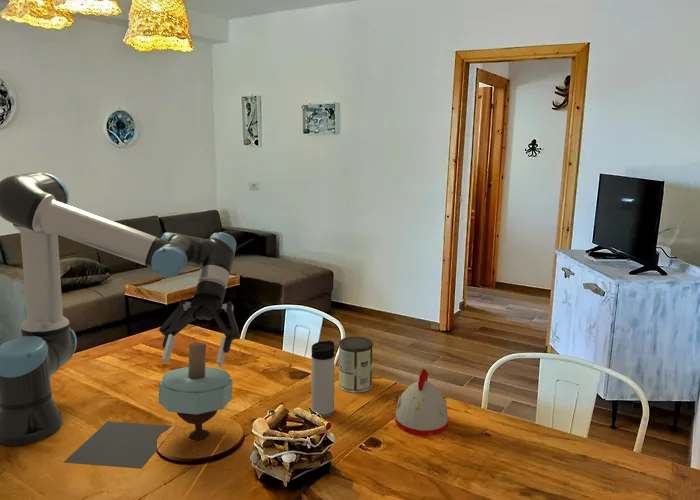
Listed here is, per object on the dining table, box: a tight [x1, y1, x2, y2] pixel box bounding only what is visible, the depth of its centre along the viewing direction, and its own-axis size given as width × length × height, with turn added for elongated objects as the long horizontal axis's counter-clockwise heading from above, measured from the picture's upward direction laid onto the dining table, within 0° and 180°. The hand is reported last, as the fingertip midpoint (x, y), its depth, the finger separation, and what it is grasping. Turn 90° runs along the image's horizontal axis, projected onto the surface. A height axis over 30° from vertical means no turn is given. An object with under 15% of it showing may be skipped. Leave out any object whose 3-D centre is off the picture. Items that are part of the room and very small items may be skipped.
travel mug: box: [310, 340, 335, 418], centre depth 152 cm, size 6×7×20 cm
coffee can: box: [338, 336, 374, 394], centre depth 169 cm, size 10×10×14 cm
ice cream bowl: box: [175, 410, 218, 442], centre depth 139 cm, size 11×11×15 cm
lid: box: [158, 342, 233, 414], centre depth 137 cm, size 16×16×14 cm
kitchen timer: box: [395, 368, 449, 437], centre depth 148 cm, size 14×14×15 cm
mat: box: [63, 420, 173, 469], centre depth 136 cm, size 19×19×1 cm
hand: (191, 362), depth 134 cm, fingers open, 13 cm apart
